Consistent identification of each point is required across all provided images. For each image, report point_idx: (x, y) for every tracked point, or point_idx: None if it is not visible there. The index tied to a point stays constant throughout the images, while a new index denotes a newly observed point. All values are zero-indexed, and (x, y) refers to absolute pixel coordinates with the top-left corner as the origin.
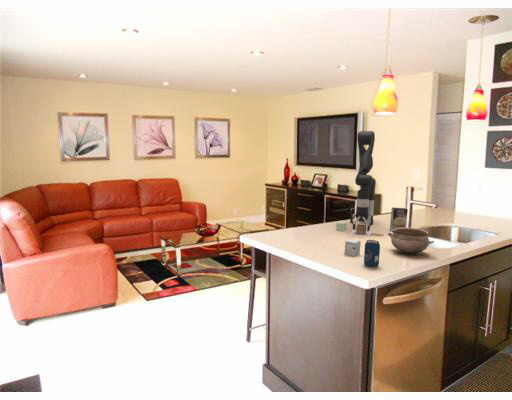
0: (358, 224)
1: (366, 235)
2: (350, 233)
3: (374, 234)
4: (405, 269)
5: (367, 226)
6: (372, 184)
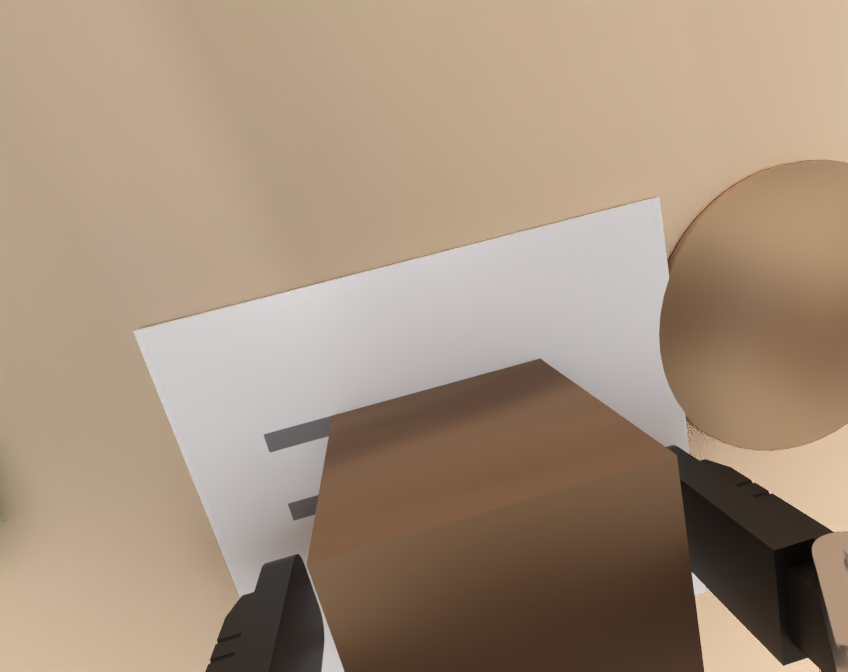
0: (361, 607)
1: None
2: None
3: (737, 338)
4: None
5: (766, 641)
6: None
